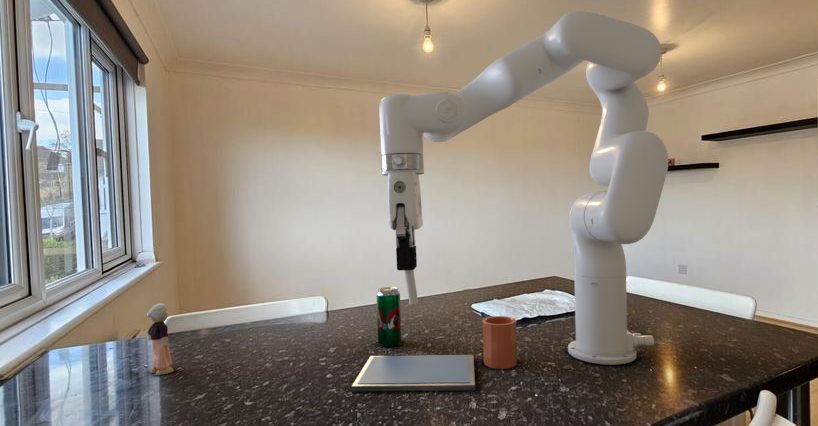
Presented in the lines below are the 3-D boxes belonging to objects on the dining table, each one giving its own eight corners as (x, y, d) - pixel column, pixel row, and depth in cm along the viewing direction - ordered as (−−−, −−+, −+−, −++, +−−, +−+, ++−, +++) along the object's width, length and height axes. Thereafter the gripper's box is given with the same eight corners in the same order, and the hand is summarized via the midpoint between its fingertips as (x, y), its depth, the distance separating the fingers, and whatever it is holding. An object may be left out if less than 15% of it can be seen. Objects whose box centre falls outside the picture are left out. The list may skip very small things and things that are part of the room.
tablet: (473, 359, 83) (473, 354, 83) (475, 390, 69) (475, 384, 69) (370, 360, 83) (370, 355, 83) (351, 391, 69) (351, 385, 69)
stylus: (418, 301, 78) (408, 236, 78) (417, 304, 76) (407, 237, 76) (410, 303, 78) (400, 237, 78) (408, 305, 76) (398, 238, 76)
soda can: (403, 340, 96) (401, 286, 95) (398, 347, 90) (397, 291, 90) (381, 340, 96) (379, 286, 96) (375, 347, 91) (373, 291, 91)
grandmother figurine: (184, 369, 81) (181, 303, 81) (163, 377, 77) (160, 307, 77) (158, 364, 84) (156, 300, 84) (137, 371, 81) (135, 304, 81)
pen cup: (514, 356, 83) (513, 315, 83) (519, 368, 77) (518, 324, 77) (483, 357, 84) (482, 316, 83) (484, 369, 77) (483, 325, 77)
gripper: (419, 161, 69) (423, 275, 69) (427, 169, 84) (431, 262, 85) (372, 163, 69) (377, 277, 69) (389, 170, 85) (393, 263, 85)
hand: (407, 268), depth 77 cm, fingers closed on stylus, 1 cm apart
